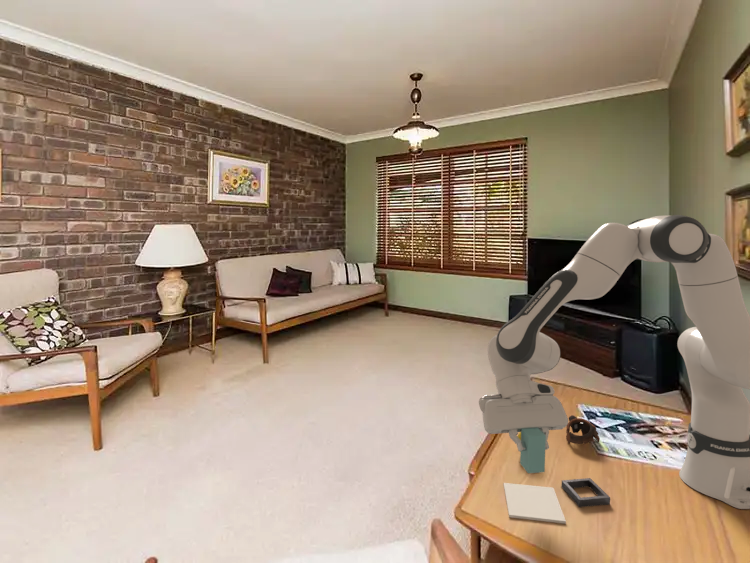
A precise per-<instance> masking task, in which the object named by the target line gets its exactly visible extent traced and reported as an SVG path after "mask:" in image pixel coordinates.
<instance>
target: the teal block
mask: <svg viewBox="0 0 750 563" xmlns="http://www.w3.org/2000/svg"><path fill="white" fill-rule="evenodd" d="M521 441H522V442H525V444H526V445H525V446H526V447H527V450H526V451H521V452H520V454H519V455H520V458H519V459H520V462H519V464H520V466H522V467H523V469H524V470H525V471H526V473H527V474H536V473H537V474H539V473H545V468H546V467H545V466H546V465H545V464H546V450H545V443H546V435H545V434H544V433H543V432H542V431H541V430H540V429H539V428H524V429H521Z"/></svg>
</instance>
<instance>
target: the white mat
mask: <svg viewBox="0 0 750 563" xmlns="http://www.w3.org/2000/svg"><path fill="white" fill-rule="evenodd" d="M503 489H504V496H505V500H506V501H505V502H506V506H507V507H506V508H507V513H508V517H509V518H513V519H514V518H515V519H522V520H530V521H537V522H538V521H540V522H547V523H554V524H555V523H557V524H565V525H566V524H567V520H566V518H565V515H564V512H563V510H562V508H561V505H560V502H559V499H558V496H557V494H556V491H555V488H554V487H550V486H539V485H530V484H520V483H519V484H518V483H508V482H503Z"/></svg>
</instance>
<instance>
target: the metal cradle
mask: <svg viewBox="0 0 750 563" xmlns="http://www.w3.org/2000/svg"><path fill="white" fill-rule="evenodd" d="M561 488H562V489H563V491H564V492H565V493H566V495H568V497H570V498H571V500H572V501H573V502H574V503H575V504H576V505H577V506H578V508H585V507H596V506H608V505H611V497H610V496H609V495H608V494H607V493H606V492H605V490H603V489H602V488H601V487H600V486H599V485H598V484H597V483H596V482H595V481H594V480H593V479H591V477H587V478H575V479H565V480H564V479H563V480H561ZM579 488H590V490H591V491H592V492H593V493H594V494H596V496H594V495H593V496H584V497H581V496H580V495H579V494H578V493H577V492H576V490H574V489H579Z"/></svg>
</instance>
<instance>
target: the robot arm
mask: <svg viewBox="0 0 750 563" xmlns="http://www.w3.org/2000/svg"><path fill="white" fill-rule="evenodd" d="M731 253H732V252H731V251H730V249H729V247H728V245H727V243H726V242H725V240H724V239H723V238H722V237H721V236H720V235H718V234H714V233H708V231H707V229H706V228H705V226H704V225H703V224H702V223H701V222H700V221H699V220H697V219H695V218H693V217H691V216H687V215H683V214H673V215H668V214H666V215H656V216H651V217H647V218H640V219H636V220H633V221H632V222H630V223H628V224H627V225H625V224H623V223H619V222H608V223H607V222H606V223H604V224H603V225H601V226H600V227H598V229H596V230H595V232H594V233H593V234H592V235H591V236H589V238H588V239H587V240H586V241H585V242H584V243H583V245H582V246H581V248H579V250H578V251H577V252H576V254H575V255H574V257H573V258H572V259H571V261H570V262H569V263H568V264H567V265H566V266H564V268H562V269H561V270H559V271H557V272H555V273H554V274H553V275H552V276H551V277H549V279H548V280H546V281H545V282H544V283H543V285H542V286H541V287H540V288H539V289H538V291H536V293H535V294H534V295H533V296H532V297H531V299H529V301H528V302H527V303H526V304H525V305H524V306H523V308H522V309H520V311H519V312H518V313H517V314H516V315H515V316H514V317H512V319H510V320H508V321H507V322H506V323H504V324H503V325H502V326H501V327H500V329H499V330H498V333H497V334H495V335H494V336H493V337H492V338H490V339H489V341H488V344H487V355H488V360H489V366H490V369H491V371H492V374H493V375H494V378H495V386H496V390H497V394H496V393H495V394H489V395H488V394H484V395H483V396H482V397H480V398H479V400H478V405H479V409H480V411H481V412H482V421H483V422H482V423H483V428H484V431H485V432H486V433H487V434H488V435H494V434H498V435H499V434H508V436H509V438H510V439H511V441H512V442H513V443H514V444H515V445H516V447H517V450H518V452H520V451H526V450H527V447H526V446H525V445H526V444H525V442H522V441H521V440H520V439H519V438H518V435H519V433H520V432H521V429H524V428H539V429H540V430H541V431H542V432H543V433H544V434H545V435H546V443H545V451H546V450H548V449H549V448H550V445H549V442H548V439H549V434H550V431H557V430H563V429H564V428H567V424H568V423H569V417H568V416H567V413H566V410H565V408H564V406H563V404H562V402H561V400H560V399H559V398H558V397H557V396H555V395H554V394H555V391H556V390H555V389H554V387H553V386H552V385H550V384H545V383H542V382H541V383H540V382H537V381H534V380H531V375H537V374H543V373H545V372H548V371H551V370H554V369H555V367H557V365H558V364H559V362H560V359H561V355H562V354H561V347H560V345H559V344H558V342H557V341H556V340H555V339H553V338H552V337H550V336H549V335H547V334H545V333H543V332H541V330H542V328H543V327H544V326H545V325H546V324H547V322H548V321H549V320H550V319H551V318H552V317H553V316H554V315H555V313H556V312H557V311H558V310H559V308H561V307H562V306H563V305H564V304H566V303H568V302H571V301H575V300H585V301H586V300H589V301H590V300H596V299H600V298H602V297H603V296H605V295H606V294H607V293H608V292H610V291H611V289H612V288H613V287H614V286H615V285H616V284H617V281H619V279H620V278H621V277H622V275H623V273H624V272H625V270H626V269H627V267H628V266H629V265H630V264H631V263H632V262H634V261H635V260H636V261H645V262H650V263H670V264H671V265H672V266H673V268H674V270H675V272H676V277H677V283H678V286H679V290H680V291H679V292H680V295H681V300H682V303H683V307H684V311H685V312H684V313H685V314H686V315H687V317H688V318H689V319H690V320H691V322H692V323H693V324H694V326H693V327H688V328H687V329H685V330H684V331H683V332H681V333H680V335H679V337H678V338H677V343H676V344H677V345H676V346H677V349H678V352H679V353H680V355H681V356H682V358H683V361H684V364H685V368H686V372H687V376H688V381H689V385H690V386H689V387H690V391H691V392H690V393H691V415H690V422H689V423H688V427H687V438H686V440H687V441H686V442H687V444H686V445H687V450H686V455H685V457H684V462H683V465H682V467H681V469H680V470H679V472H678V474H679V475H678V476H679V478H680V480H682V481H683V482H684V483H685V484H686V485H687V486H689V487H690V488H691V489H693V490H695V491H697V492H699V493H701V494H704V495H706V496H708V497H711V498H713V499H716V500H719V501H722V502H723V503H725V504H727V505H728V506H732V507H733V508H736V509H739V510H740V509H741V510H750V401H749V399H748V398H747V395H746V394H745V393H744V390H743V389H748V390H750V313H749V312H748V309H747V307H746V304H745V300H744V296H743V293H742V292H743V291H742V288H741V285H740V279H739V276H738V271H737V268H736V265H735V261H734V259H733V256H732V254H731Z"/></svg>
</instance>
